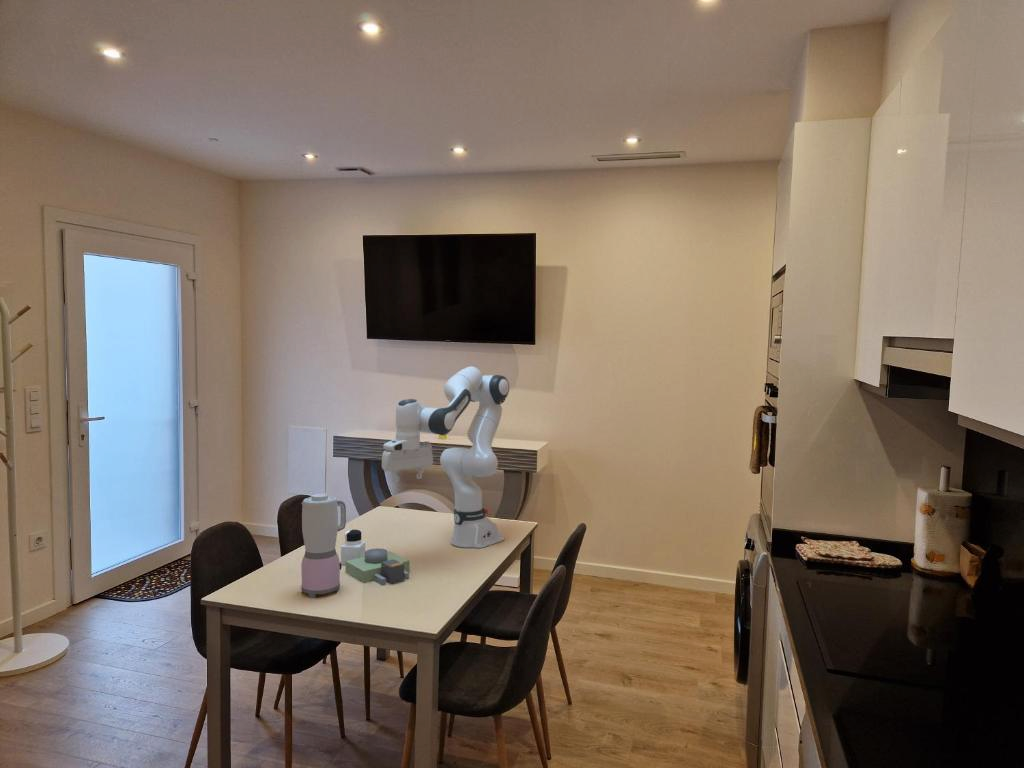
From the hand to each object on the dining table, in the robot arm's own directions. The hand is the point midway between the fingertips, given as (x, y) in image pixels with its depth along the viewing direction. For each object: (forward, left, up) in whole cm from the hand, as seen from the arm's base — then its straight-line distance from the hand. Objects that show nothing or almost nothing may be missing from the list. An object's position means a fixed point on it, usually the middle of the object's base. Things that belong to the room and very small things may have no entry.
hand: (408, 480), depth 249 cm
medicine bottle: (+16, -13, -31) cm, 37 cm away
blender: (+36, +7, -31) cm, 48 cm away
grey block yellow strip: (+14, +13, -31) cm, 36 cm away
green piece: (+14, +5, -31) cm, 34 cm away
